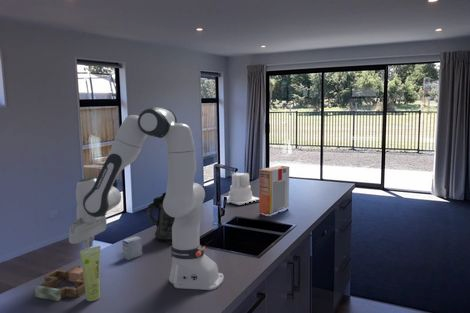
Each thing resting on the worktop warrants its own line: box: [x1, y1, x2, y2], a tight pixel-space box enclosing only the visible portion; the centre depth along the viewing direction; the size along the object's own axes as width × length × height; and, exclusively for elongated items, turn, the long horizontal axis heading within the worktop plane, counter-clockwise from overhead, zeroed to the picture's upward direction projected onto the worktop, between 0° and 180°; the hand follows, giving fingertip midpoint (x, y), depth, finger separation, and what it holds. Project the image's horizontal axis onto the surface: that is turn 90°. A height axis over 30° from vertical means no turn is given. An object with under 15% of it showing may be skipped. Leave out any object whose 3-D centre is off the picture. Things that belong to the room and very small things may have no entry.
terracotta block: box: [68, 267, 83, 283], centre depth 159 cm, size 5×5×4 cm
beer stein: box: [146, 192, 175, 245], centre depth 206 cm, size 16×19×25 cm
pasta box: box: [258, 165, 290, 215], centre depth 259 cm, size 23×8×30 cm, turn 140°
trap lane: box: [34, 264, 86, 302], centre depth 154 cm, size 21×23×4 cm
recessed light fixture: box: [225, 172, 260, 206], centre depth 290 cm, size 25×22×21 cm
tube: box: [79, 245, 101, 302], centre depth 142 cm, size 6×5×20 cm
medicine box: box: [122, 236, 143, 261], centre depth 183 cm, size 8×4×9 cm, turn 141°
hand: (88, 247), depth 166 cm, fingers closed
